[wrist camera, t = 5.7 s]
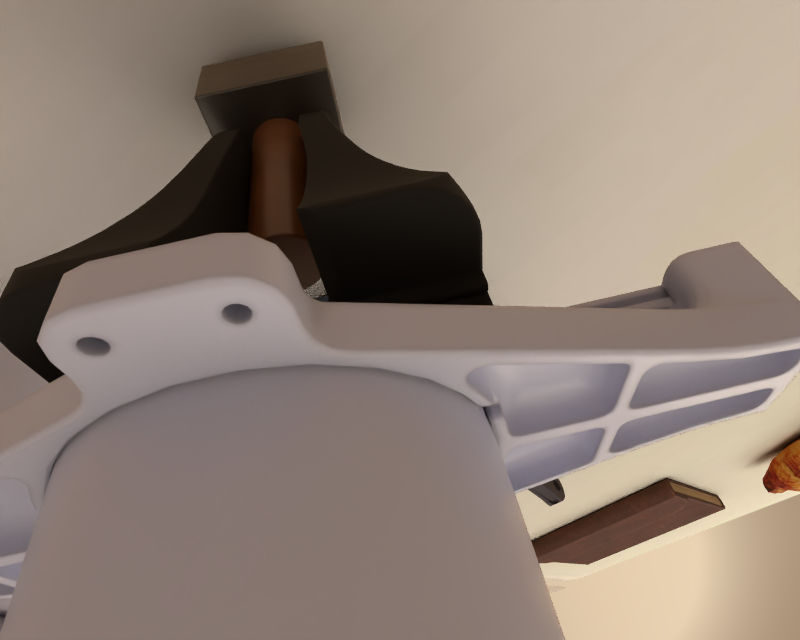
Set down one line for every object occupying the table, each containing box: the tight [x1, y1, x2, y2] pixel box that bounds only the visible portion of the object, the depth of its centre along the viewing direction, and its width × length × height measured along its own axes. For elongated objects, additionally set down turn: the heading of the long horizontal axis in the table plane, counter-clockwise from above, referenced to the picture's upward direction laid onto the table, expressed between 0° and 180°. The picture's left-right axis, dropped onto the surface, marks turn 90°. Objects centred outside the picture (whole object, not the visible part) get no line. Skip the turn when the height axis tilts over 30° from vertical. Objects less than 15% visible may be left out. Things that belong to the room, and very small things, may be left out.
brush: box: [195, 41, 345, 289], centre depth 12 cm, size 3×3×7 cm
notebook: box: [532, 479, 725, 565], centre depth 58 cm, size 15×20×2 cm
